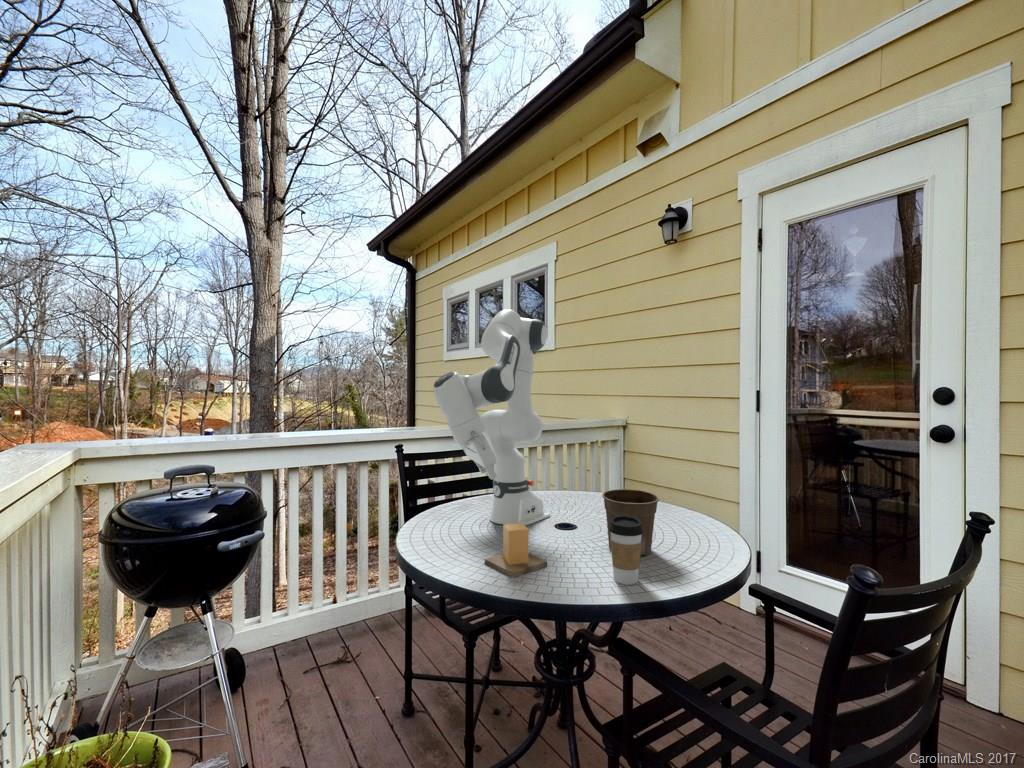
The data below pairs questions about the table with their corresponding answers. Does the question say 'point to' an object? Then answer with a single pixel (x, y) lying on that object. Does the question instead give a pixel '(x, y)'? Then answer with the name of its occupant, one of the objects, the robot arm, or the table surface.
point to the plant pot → (633, 511)
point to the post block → (515, 565)
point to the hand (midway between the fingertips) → (488, 475)
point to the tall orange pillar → (515, 543)
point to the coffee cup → (626, 548)
